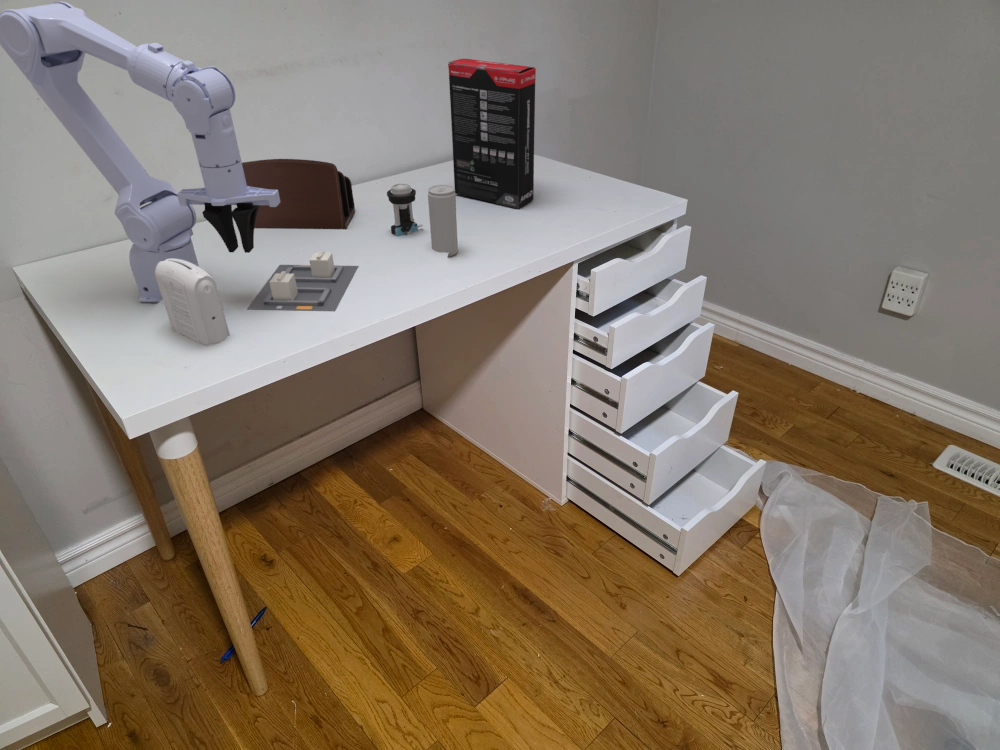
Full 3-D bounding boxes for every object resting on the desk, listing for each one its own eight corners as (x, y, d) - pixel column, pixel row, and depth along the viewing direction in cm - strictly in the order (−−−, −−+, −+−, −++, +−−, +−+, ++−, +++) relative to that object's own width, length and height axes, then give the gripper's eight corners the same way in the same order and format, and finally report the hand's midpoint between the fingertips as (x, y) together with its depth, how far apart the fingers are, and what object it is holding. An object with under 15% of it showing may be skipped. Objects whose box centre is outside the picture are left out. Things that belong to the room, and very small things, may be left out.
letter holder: (345, 231, 136) (335, 160, 128) (246, 231, 137) (229, 160, 129) (356, 212, 144) (346, 144, 136) (262, 212, 145) (247, 144, 137)
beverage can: (427, 256, 126) (422, 192, 119) (438, 245, 130) (434, 183, 123) (452, 259, 124) (448, 195, 118) (462, 249, 128) (459, 185, 121)
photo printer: (236, 342, 102) (216, 265, 95) (211, 355, 99) (188, 277, 92) (194, 322, 107) (172, 248, 100) (169, 334, 104) (144, 259, 97)
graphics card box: (536, 200, 148) (538, 63, 133) (519, 211, 143) (519, 70, 128) (470, 187, 156) (465, 55, 140) (452, 196, 151) (445, 61, 136)
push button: (415, 228, 137) (411, 178, 131) (430, 236, 133) (426, 185, 128) (386, 237, 133) (380, 186, 128) (401, 245, 130) (396, 194, 124)
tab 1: (273, 301, 110) (268, 279, 107) (279, 292, 112) (275, 270, 110) (292, 302, 109) (287, 279, 107) (298, 293, 112) (293, 270, 110)
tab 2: (312, 279, 116) (308, 257, 114) (317, 271, 118) (314, 249, 116) (330, 279, 116) (326, 257, 114) (335, 271, 118) (331, 250, 116)
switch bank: (248, 316, 108) (245, 306, 107) (281, 270, 122) (279, 261, 121) (336, 317, 108) (334, 307, 107) (359, 272, 121) (358, 262, 120)
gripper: (157, 170, 96) (184, 260, 104) (260, 171, 95) (279, 261, 103) (180, 154, 102) (203, 241, 109) (276, 155, 101) (293, 242, 109)
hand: (241, 249), depth 106 cm, fingers closed
